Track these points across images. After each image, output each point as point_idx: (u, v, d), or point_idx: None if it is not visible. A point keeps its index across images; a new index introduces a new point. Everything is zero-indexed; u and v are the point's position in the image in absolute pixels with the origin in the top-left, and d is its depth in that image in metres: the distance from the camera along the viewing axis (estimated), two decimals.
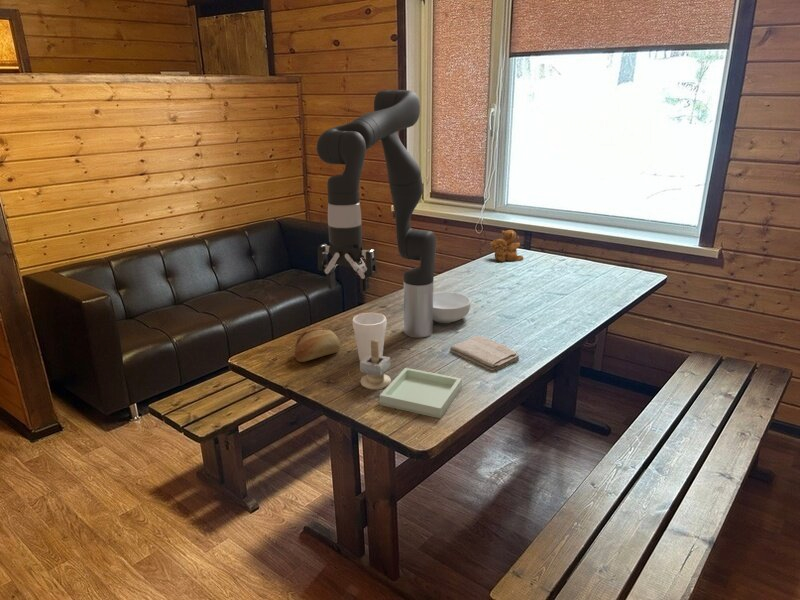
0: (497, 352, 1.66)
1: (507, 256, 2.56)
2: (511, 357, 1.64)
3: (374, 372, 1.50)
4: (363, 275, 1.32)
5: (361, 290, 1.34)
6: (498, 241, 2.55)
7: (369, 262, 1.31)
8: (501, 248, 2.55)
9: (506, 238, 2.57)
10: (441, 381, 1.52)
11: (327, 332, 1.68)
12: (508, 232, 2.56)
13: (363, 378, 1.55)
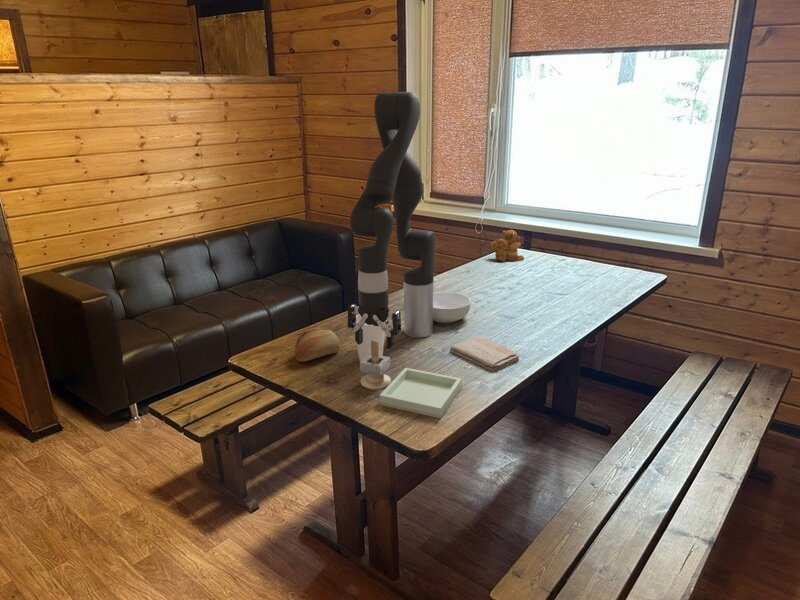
0: (497, 352, 1.66)
1: (507, 256, 2.56)
2: (511, 357, 1.64)
3: (374, 372, 1.50)
4: (389, 334, 1.46)
5: (387, 347, 1.48)
6: (499, 241, 2.55)
7: (395, 323, 1.45)
8: (502, 248, 2.55)
9: (507, 238, 2.57)
10: (441, 381, 1.52)
11: (327, 332, 1.68)
12: (509, 232, 2.56)
13: (363, 378, 1.55)
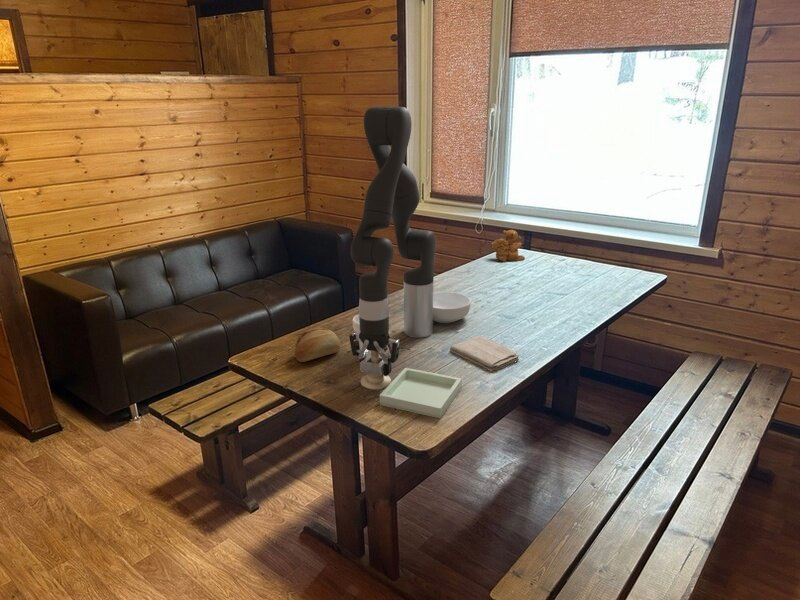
0: (497, 352, 1.66)
1: (508, 256, 2.56)
2: (510, 358, 1.64)
3: (374, 372, 1.50)
4: (386, 361, 1.49)
5: (384, 373, 1.51)
6: (499, 241, 2.55)
7: (394, 351, 1.48)
8: (502, 248, 2.55)
9: (507, 237, 2.57)
10: (441, 381, 1.52)
11: (327, 332, 1.68)
12: (509, 232, 2.56)
13: (363, 378, 1.55)
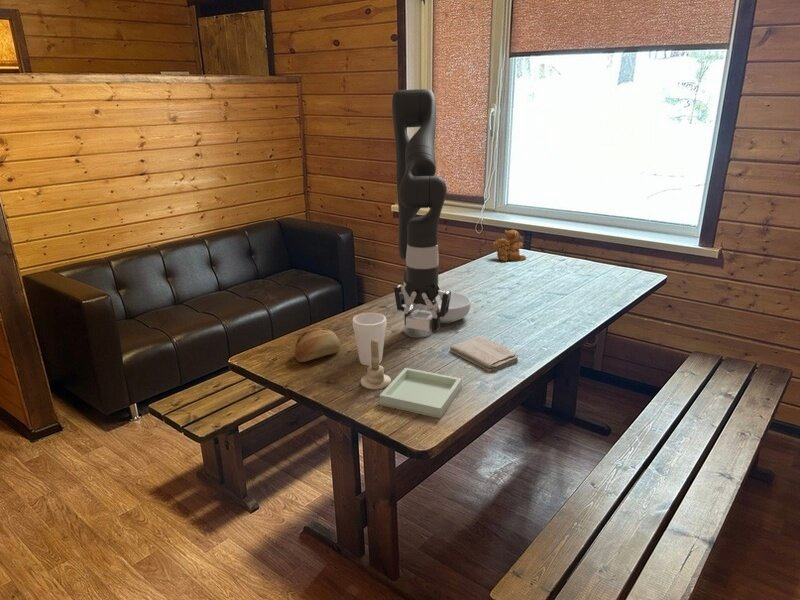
0: (496, 353, 1.66)
1: (509, 255, 2.57)
2: (509, 358, 1.63)
3: (421, 328, 1.38)
4: (435, 315, 1.37)
5: (433, 329, 1.39)
6: (501, 241, 2.55)
7: (444, 304, 1.35)
8: (504, 248, 2.55)
9: (509, 237, 2.57)
10: (441, 381, 1.52)
11: (327, 332, 1.68)
12: (511, 232, 2.56)
13: (363, 378, 1.55)
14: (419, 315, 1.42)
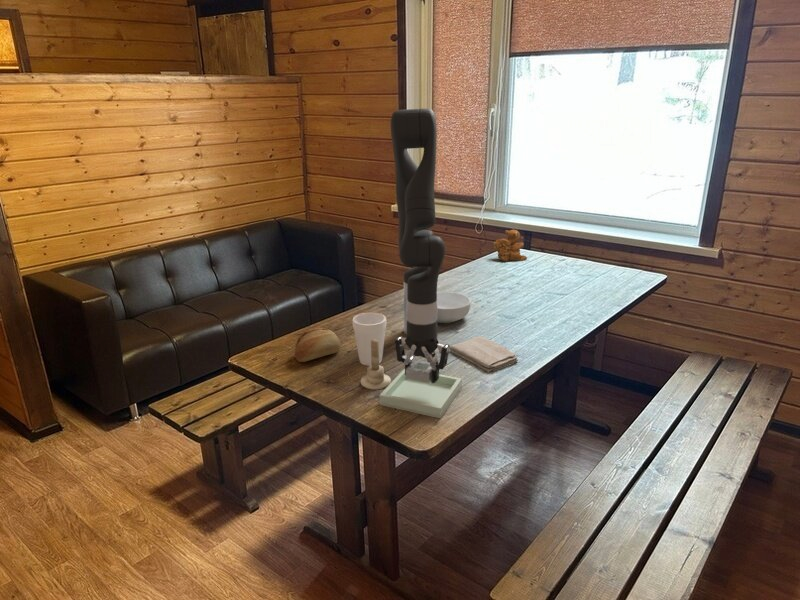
0: (495, 353, 1.66)
1: (510, 255, 2.57)
2: (509, 359, 1.63)
3: (421, 379, 1.42)
4: (435, 367, 1.42)
5: (432, 380, 1.43)
6: (501, 241, 2.55)
7: (443, 357, 1.40)
8: (504, 248, 2.55)
9: (509, 237, 2.57)
10: (441, 381, 1.52)
11: (327, 332, 1.68)
12: (511, 232, 2.56)
13: (363, 378, 1.55)
14: (419, 366, 1.47)
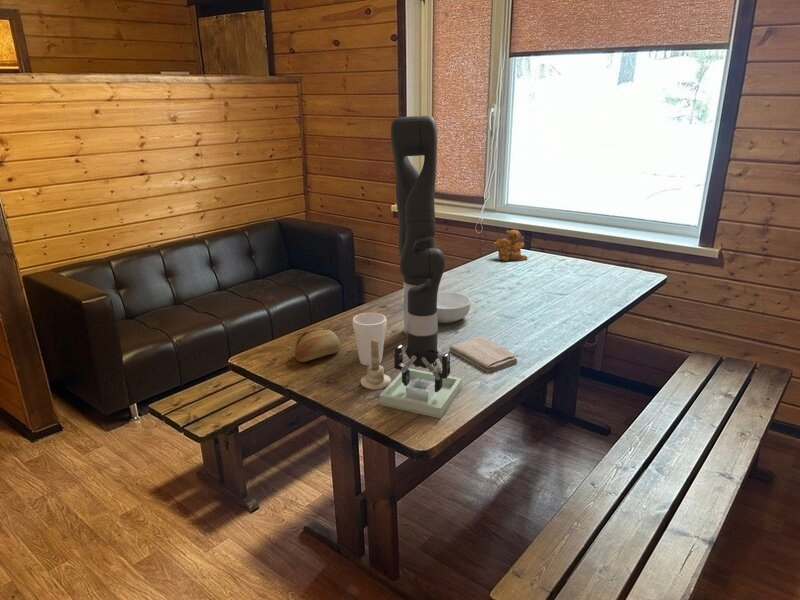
0: (495, 354, 1.66)
1: (510, 255, 2.57)
2: (508, 359, 1.63)
3: (421, 398, 1.44)
4: (438, 377, 1.42)
5: (435, 389, 1.44)
6: (502, 241, 2.56)
7: (445, 366, 1.40)
8: (505, 248, 2.55)
9: (510, 237, 2.57)
10: None
11: (327, 332, 1.68)
12: (512, 232, 2.57)
13: (363, 378, 1.55)
14: (418, 384, 1.49)
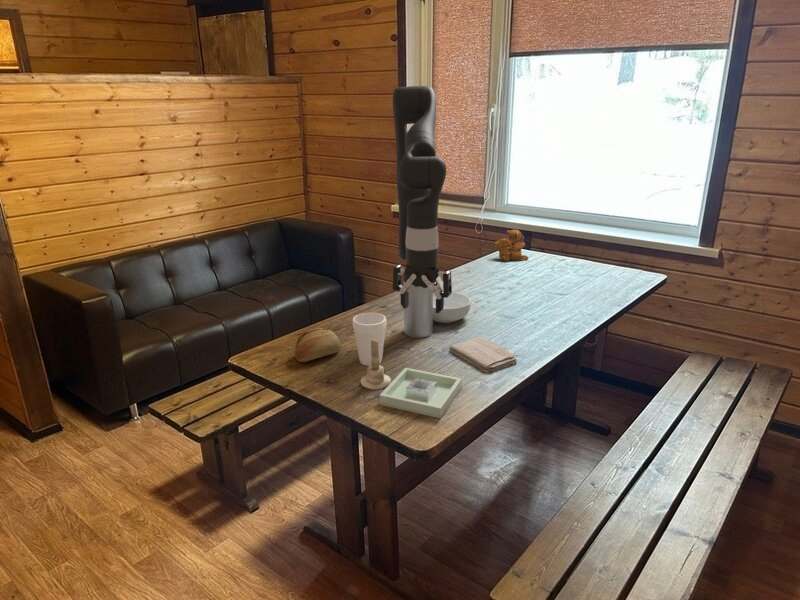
0: (494, 354, 1.65)
1: (511, 255, 2.57)
2: (508, 360, 1.63)
3: (421, 398, 1.44)
4: (439, 296, 1.36)
5: (436, 310, 1.37)
6: (503, 241, 2.56)
7: (446, 283, 1.34)
8: (505, 248, 2.55)
9: (511, 237, 2.57)
10: (441, 381, 1.52)
11: (327, 332, 1.68)
12: (513, 232, 2.57)
13: (363, 378, 1.55)
14: (418, 384, 1.49)
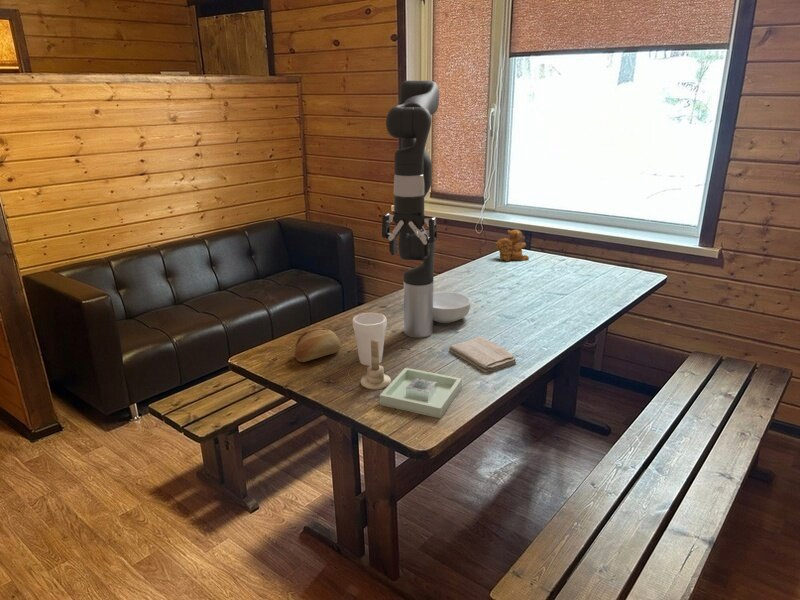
0: (494, 354, 1.65)
1: (512, 255, 2.57)
2: (507, 360, 1.63)
3: (421, 398, 1.44)
4: (425, 241, 1.44)
5: (423, 255, 1.46)
6: (503, 240, 2.56)
7: (432, 229, 1.42)
8: (506, 248, 2.56)
9: (511, 237, 2.57)
10: (441, 381, 1.52)
11: (327, 332, 1.68)
12: (513, 232, 2.57)
13: (363, 378, 1.55)
14: (418, 384, 1.49)
